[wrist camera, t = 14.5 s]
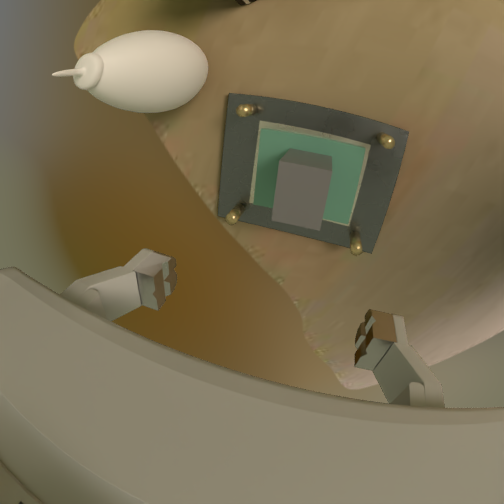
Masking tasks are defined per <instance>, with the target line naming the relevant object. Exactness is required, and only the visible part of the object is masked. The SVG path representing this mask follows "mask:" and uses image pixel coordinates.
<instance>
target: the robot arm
mask: <svg viewBox="0 0 504 504" xmlns="http://www.w3.org/2000/svg"><path fill="white" fill-rule="evenodd" d="M175 267H176V259H175V258H174V257H172V256H168V255H165V254H162V253H159V252H156V251H153V250H149V249H142V250H141V251H140V252H139V253H138V254H137V255H136V256H134V257H133V258H132V259H131V260H130V261H129V262H128V263H127V264H126V265H125V266H124V267H121V266H119V267H116V268H113V269H110V270H106V271H103V272H100V273H97V274H94V275H90V276H87V277H84V278H81V279H78V280H75V281H74V282H73V283H72V284H71V285H70V286H69V287H68V288H67V289H66V290H65V291H64V292H62V293H61V294H57V293H56V292H54V291H52V290H51V289H49V288H48V287H46V286H44V285H43V284H41V283H39V282H38V281H36V280H35V279H33V278H31V277H30V276H28V275H27V274H25V273H24V272H22V271H21V270H19V269H18V268H16V267H8V268H3V269H0V504H504V407H490V408H445V404H444V397H443V390H442V384H441V383H440V382H439V380H438V379H437V378H436V376H435V375H434V374H433V373H432V371H431V370H430V369H429V367H428V366H427V365H426V363H425V362H424V361H423V360H422V358H421V357H420V356H419V355H418V353H417V352H416V351H415V349H414V348H413V347H412V346H410V345H408V339H407V333H406V328H405V323H404V318H403V316H401V315H396V314H389V313H385V312H380V311H376V310H372V309H369V310H368V311H367V313H366V315H365V322H363V323H361V324H360V326H359V328H358V330H357V334H356V338H355V346H356V348H357V351H356V353H355V364H354V367H358V368H362V369H367V370H372V371H373V373H374V375H375V377H376V379H377V381H378V383H379V385H380V387H381V389H382V391H383V393H384V395H385V397H386V399H387V401H388V402H389V404H388V403H380V402H373V401H365V400H359V399H352V398H346V397H341V396H335V395H330V394H325V393H320V392H315V391H310V390H306V389H301V388H297V387H293V386H289V385H284V384H281V383H277V382H273V381H269V380H266V379H262V378H258V377H255V376H252V375H248V374H245V373H241V372H238V371H235V370H231V369H228V368H225V367H222V366H219V365H216V364H213V363H210V362H208V361H205V360H202V359H199V358H196V357H193V356H190V355H188V354H185V353H183V352H180V351H177V350H174V349H172V348H170V347H167V346H165V345H162V344H160V343H157V342H154V341H153V340H150V339H148V338H146V337H143V336H140V335H139V334H136V333H134V332H132V331H130V330H128V329H125V328H123V327H121V326H119V325H117V324H114V323H112V322H111V321H113V320H114V319H117V318H118V317H121V316H122V315H124V314H126V313H128V312H130V311H132V310H134V309H136V308H138V307H140V306H141V305H143V306H146V307H149V308H152V309H155V310H159V309H160V308H161V306H162V305H163V304H164V302H165V301H166V299H165V296H168V295H170V294H171V293H172V292H173V290H174V288H175V286H176V283H177V274H176V272H175V271H174V268H175Z"/></svg>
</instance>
